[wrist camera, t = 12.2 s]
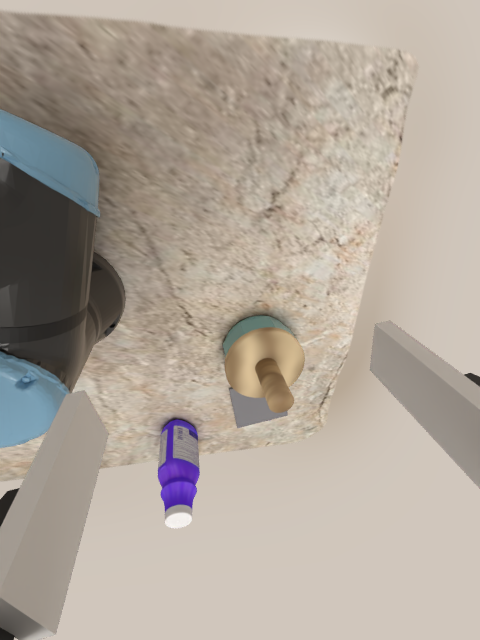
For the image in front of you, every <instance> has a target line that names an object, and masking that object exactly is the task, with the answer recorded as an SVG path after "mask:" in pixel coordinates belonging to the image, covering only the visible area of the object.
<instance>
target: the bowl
mask: <svg viewBox="0 0 480 640" xmlns="http://www.w3.org/2000/svg"><path fill="white" fill-rule="evenodd" d="M265 327H273V328H279V329H283V330H285V331H287V332H289V333H290V334H292V335H293V333H292V332H291V330H290V329H289V328H287V327H286V326H284V325H283V324H282V323H281V322H280V321H279V320H277V319H275V318H273V317H270V316H264V315H257V316H252V317H248V318H246V319H243V320H242V321H240V322H238V323H237V324H236V325H235V326H233V327H232V329H231V330H230V331H229V332H228V334H227V336H226V338H225V341H224V343H223V349H224V354H225V358H226V355H227V353H228V351H229V349H230V347H231V346H232V345H233V344H234V342H235V341H236V340H238V339H239V338H240V337H241V336H243V335H244V334H246V333H248V332H250V331H253V330H256V329H259V328H265ZM293 336H294V335H293ZM294 337H295V336H294Z"/></svg>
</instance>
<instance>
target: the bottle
mask: <svg viewBox="0 0 480 640" xmlns="http://www.w3.org/2000/svg"><path fill="white" fill-rule="evenodd" d="M199 473H200V472H199V453H198V435H197V431H196V429H195V428H194V427H193V426H192V425H191V424H189V423H187V422H185V421H182V420H177V419H176V420H173V421H171V422H169V423H168V424H167V425H166V426H165V427H164V428H163V430H162V433H161V440H160V452H159V464H158V479H159V481H160V484H161V486H162V490H161V498H162V500H163V501H164V505H165V524H166V525H167V526H168V527H170V528H182V527H185V526H187V525H188V524H189V523H190V522H191V521H192V503H193V499H194V497H195V494H196V492H197V488H196V486H195V485H196V483H197V481H198V478H199Z"/></svg>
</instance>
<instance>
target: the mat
mask: <svg viewBox="0 0 480 640" xmlns="http://www.w3.org/2000/svg"><path fill="white" fill-rule="evenodd" d="M229 391H230V395H231V400H232V405H233V409H234V414H235V419H236V423H237V428H240V427H244V426H248V425H252V424H256V423H260V422H264V421H268V420H272V419H275V418H279V417H283V416H287V411H285V412H281V413H275V412H272V411H271V410H270V409H269V406H268V404H267V401H266V398H265V397H264V398H252V397H247V396H244V395H242V394H240V393H238V392H237V391H235V390H234V389H233V388H229Z"/></svg>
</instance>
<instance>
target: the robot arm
mask: <svg viewBox="0 0 480 640" xmlns="http://www.w3.org/2000/svg"><path fill="white" fill-rule="evenodd" d="M98 197H99V170H98V167H97V164H96V162H95V161H94V159H93V158H92V156H91V155H90V154H89V153H88V152H87V151H86V150H84V149H83V148H82V147H80V146H78V145H76V144H75V143H73V142H71V141H69V140H67V139H65V138H63V137H60V136H58V135H56V134H54V133H52V132H50V131H48V130H46V129H44V128H41V127H39V126H37V125H35V124H33V123H31V122H28V121H26V120H24V119H22V118H20V117H17V116H15V115H13V114H11V113H8V112H6V111H4V110H2V109H0V448H4V447H10V446H15V445H20V444H23V443H25V442H28V441H29V440H31V439H34V438H37V437H39V436H41V435H43V434H44V433H45V432H47V431H48V432H47V434H46V436H45V438H44V440H43V442H42V444H41V446H40V448H39V450H38V452H37V454H36V456H35V458H34V460H33V462H32V464H31V466H30V468H29V470H28V472H27V474H26V476H25V478H24V480H23V483H22V485H21V487H20V488H18V489H14V490H10V491H7V493H6V494H5V495H4V496H3V497H2V498H1V499H0V640H14V637H15V638H17V639H18V640H40V639H44V638H47V637H50V636H54V635H56V632H57V628H58V624H59V620H60V616H61V613H62V609H63V605H64V602H65V598H66V594H67V590H68V586H69V582H70V579H71V575H72V571H73V567H74V564H75V560H76V556H77V552H78V548H79V545H80V541H81V537H82V533H83V529H84V526H85V522H86V518H87V514H88V510H89V507H90V503H91V499H92V495H93V491H94V488H95V484H96V480H97V476H98V473H99V469H100V465H101V461H102V457H103V454H104V450H105V446H106V442H107V438H108V435H109V433H108V431H107V429H106V427H105V426H104V424H103V422H102V420H101V418H100V417H99V415H98V413H97V411H96V409H95V408H94V406H93V404H92V402H91V400H90V399H89V397H88V395H87V393H86V392H85V390H83V391H79V392H75V393H72V391H73V389H74V387H75V384H76V382H77V380H78V378H79V376H80V374H81V372H82V369H83V367H84V365H85V363H86V361H87V359H88V357H89V355H90V352H91V350H92V348H93V346H94V345H95V344H96V343H98V342H99V341H101V340H102V339H104V338H105V337H107V336H108V335H109V334H110V333H111V332H112V331H113V330H114V329H115V327H116V326H117V325H118V323H119V321H120V319H121V316H122V314H123V311H124V307H125V291H124V287H123V284H122V282H121V280H120V278H119V276H118V274H117V273H116V271H115V270H114V269H113V268H112V266H111V265H110V264H109V263H108V262H107V261H106V260H104V259H103V258H102V257H101V256H99V255H98V254H96V253H95V252H93V251H94V241H95V231H96V221H97V217H100V211H99V209H98ZM370 371H371V372H372V373H373V374H374V375H375V376H376V377H377V378H378V379H379V380H380V381H381V382H382V384H383V385H384V386H385V387H386V388H387V389H388V390H389V391H390V392H391V393H392V394H393V395H394V397H395V398H396V399H397V400H398V401H399V402H400V403H401V404H402V405H403V406H404V407H405V408H406V409H407V411H408V412H409V413H410V414H411V415H412V416H413V417H414V418H415V419H416V420H417V421H418V423H419V424H420V425H421V426H422V427H423V428H424V429H425V430H426V431H427V432H428V433H429V434H430V435H431V437H433V439H434V440H435V441H436V442H437V443H438V444H439V445H440V446H441V447H442V448H443V449H444V450H445V452H446V453H447V454H448V455H449V456H450V457H451V458H452V459H453V460H454V461H455V462H456V463H457V465H458V466H459V467H460V468H461V469H462V470H463V471H464V472H465V473H466V474H467V475H468V476H469V478H470V479H471V480H472V481H473V482H474V483H475V484H476V485H477V486H478V487H479V488H480V377H479V376H477V375H474V374H472V373H468V374H465V375H463V374H462V373H460V372H459V371H458V370H456V369H455V368H454V367H452V366H451V365H450V364H448V363H447V362H445V361H444V360H442V358H440V357H439V356H437V355H436V354H435V353H433V352H432V351H431V350H429V349H428V348H427V347H425V346H424V345H423V344H421V343H420V342H419V341H417V340H416V339H414V338H413V337H412V336H410V335H409V334H408V333H406V332H405V331H404V330H402V329H401V328H400V327H398V326H397V325H396V324H394V323H393V322H391V321H386V322H381V323H377V324H375V327H374V336H373V346H372V355H371V363H370Z"/></svg>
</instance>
